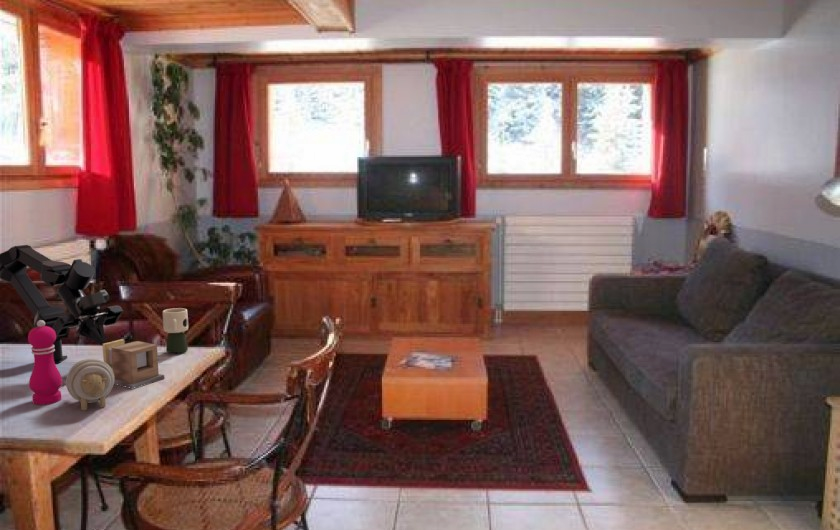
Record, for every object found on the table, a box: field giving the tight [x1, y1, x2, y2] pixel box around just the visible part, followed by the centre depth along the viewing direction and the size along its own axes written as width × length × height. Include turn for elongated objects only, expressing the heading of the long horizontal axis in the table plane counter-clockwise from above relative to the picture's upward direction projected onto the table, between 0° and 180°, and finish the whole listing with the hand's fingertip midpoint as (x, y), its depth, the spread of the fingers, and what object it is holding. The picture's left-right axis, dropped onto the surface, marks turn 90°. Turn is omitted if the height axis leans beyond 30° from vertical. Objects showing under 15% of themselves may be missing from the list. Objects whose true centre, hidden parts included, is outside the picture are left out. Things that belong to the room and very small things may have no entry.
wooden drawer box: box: [111, 340, 165, 389], centre depth 194 cm, size 18×10×9 cm, turn 59°
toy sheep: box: [65, 357, 115, 412], centre depth 174 cm, size 11×17×11 cm, turn 35°
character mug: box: [162, 307, 189, 354], centre depth 220 cm, size 11×7×13 cm, turn 15°
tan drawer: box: [101, 338, 147, 369], centre depth 194 cm, size 11×6×7 cm, turn 59°
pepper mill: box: [27, 320, 63, 405], centre depth 176 cm, size 7×7×20 cm
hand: (104, 344), depth 198 cm, fingers closed
